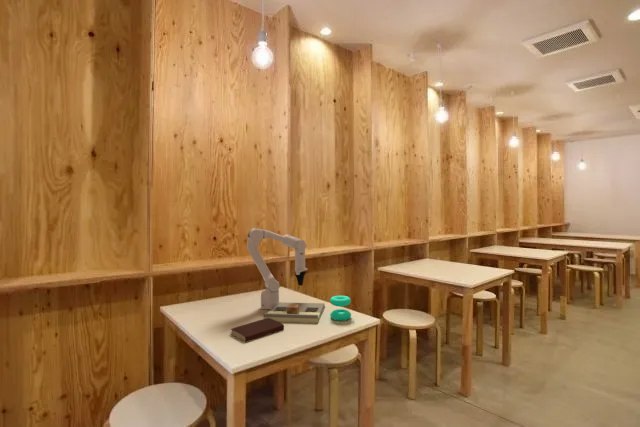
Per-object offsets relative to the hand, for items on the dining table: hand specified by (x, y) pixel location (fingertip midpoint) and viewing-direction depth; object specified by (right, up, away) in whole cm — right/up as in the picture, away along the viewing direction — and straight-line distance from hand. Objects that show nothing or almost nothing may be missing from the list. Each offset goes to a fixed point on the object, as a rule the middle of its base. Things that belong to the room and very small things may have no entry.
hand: (300, 285), depth 187 cm
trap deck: (-1, -11, -17) cm, 20 cm away
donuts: (+21, -11, -25) cm, 34 cm away
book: (-16, -12, -42) cm, 46 cm away
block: (-2, -9, -24) cm, 26 cm away
